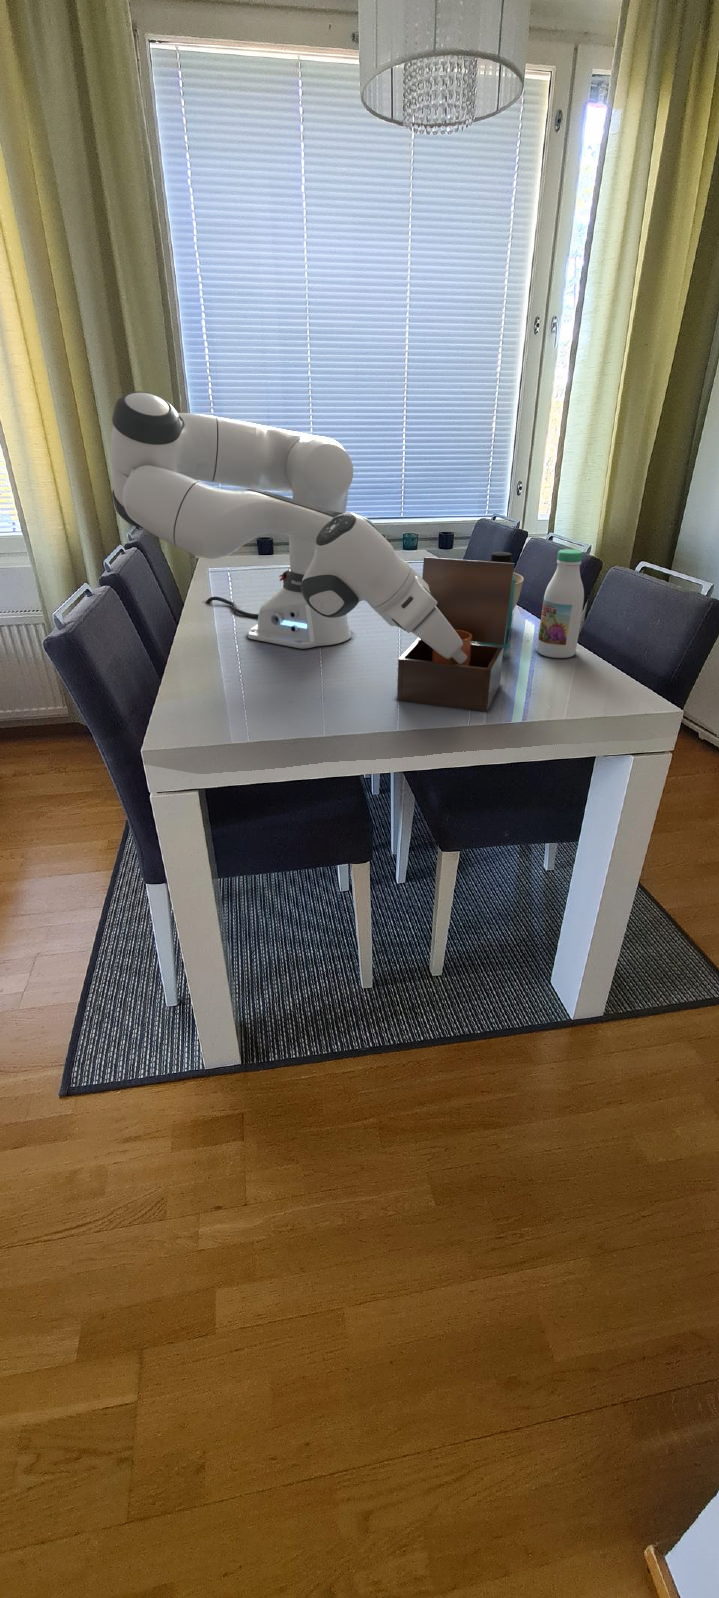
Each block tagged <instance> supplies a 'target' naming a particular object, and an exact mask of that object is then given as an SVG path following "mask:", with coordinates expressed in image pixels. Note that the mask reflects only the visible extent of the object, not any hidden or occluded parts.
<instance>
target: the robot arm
mask: <svg viewBox="0 0 719 1598" xmlns="http://www.w3.org/2000/svg"><path fill="white" fill-rule="evenodd" d="M111 422H112V426H113V427H112V431H111V441H110V462H111V478H112V495H111V496H112V501H113V504H114V508H115V511H116V512H117V514H118V515H119V516H120V517H121V519H123V521H125V522H126V523H128V524H129V525H131V526H133V527H136V528H139V529H144V530H146V531H147V532H148V533H150V534H152V535H153V536H155V537H157V538H159V539H160V540H162V541H164V542H166V543H168V544H170V545H171V546H173V547H176V548H178V549H180V550H182V551H184V552H186V553H188V554H191V555H193V556H195V557H199V558H202V559H207V560H208V559H209V560H217V559H221V558H225V557H227V556H230V555H231V554H233V553H235V552H237V550H239V549H240V548H242V547H243V546H244V545H246V544H248V543H249V542H251V541H253V540H255V539H256V538H259V537H260V536H263V535H266V534H272V533H279V534H284V535H286V536H288V549H289V550H288V551H289V553H288V554H289V568H287V570H286V571H284V572H282V573H281V574H280V575H278V577H279V582H282V584H283V585H282V588H280V589H279V590H278V591H276V592H275V593H274V594H273V595H272V596H271V597H269V598H268V599H267V600H266V601H265V602H264V603H263V604H262V605H261V606H260V608H259V611H258V613H251V612H247V611H244V610H242V609H240V608H237V605H236V603H235V602H234V601H231V600H228V599H226V598H224V597H221V596H211V597H209V598H208V599H207V600H206V601H205V604H210V603H212V602H213V601H217V602H222V603H224V604H226V605H229V606H231V607H232V610H233V611H234V612H235V613H236V614H239V615H241V616H244V617H248V618H253V619H257V624H255V625H254V626H252V627H251V628H249V630H248V631H247V637H248V639H250V640H253V641H254V640H255V641H259V642H260V641H261V642H265V643H270V644H275V645H280V646H286V647H290V648H296V649H301V650H304V649H305V650H306V649H310V648H315V647H323V646H332V645H337V644H341V643H344V642H346V641H348V640H350V639H351V638H352V633H351V632H352V631H351V630H350V625H349V621H348V616H347V614H349V613H350V612H351V611H353V610H354V609H355V608H356V607H357V606H358V605H359V603H360V602H362V601H363V602H366V603H367V604H368V605H369V606H370V607H371V609H372V610H374V611H375V613H377V614H378V615H379V617H381V619H383V620H384V621H385V622H386V623H387V624H388V625H389V626H391V627H397V628H400V629H401V630H403V631H404V632H406V633H408V634H410V633H412V634H413V635H414V636H416V637H417V638H420V639H421V640H422V641H424V642H425V643H426V644H427V645H429V646H430V647H431V648H432V649H434V650H435V651H436V652H438V653H439V654H440V655H442V656H443V657H445V658H447V659H450V658H451V657H452V658H454V659H455V660H456V661H457V662H458V663H459V664H462V663H463V662H464V661H465V660H466V659H467V656H466V655H465V654H464V652H463V651H462V650H461V649H460V648H461V647H462V645H463V642H462V640H461V638H460V637H459V635H458V634H457V632H456V631H455V630H454V628H453V627H452V626H451V624H450V623H449V622H448V621H447V619H446V618H445V617H444V615H443V614H442V613H441V612H440V610H439V609H438V608H437V607H436V605H437V601H436V600H435V598H434V597H433V596H432V595H431V593H430V590H429V586H428V584H427V583H426V582H425V581H424V580H423V579H422V576H421V575H420V574H419V573H418V572H417V570H415V569H414V568H413V567H412V565H410V563H408V562H407V561H405V560H404V559H402V558H401V557H399V555H397V553H396V551H395V550H394V547H393V545H392V544H391V543H390V542H389V541H388V540H387V539H386V537H385V536H383V534H382V533H381V532H380V530H379V528H378V527H377V525H376V524H375V523H374V522H373V521H372V520H370V519H369V518H367V517H365V516H363V515H360V514H357V513H354V512H351V511H348V512H346V510H347V506H348V505H347V504H348V497H349V489H350V487H351V484H352V482H353V478H354V465H353V461H352V459H351V456H350V455H349V454H348V452H347V450H346V449H345V448H344V447H343V446H342V445H341V443H340V442H338V441H336V440H335V439H334V438H330V437H327V436H322V435H321V436H320V435H315V434H310V433H304V432H299V431H293V430H288V429H283V428H279V427H278V428H277V427H273V426H267V425H262V424H258V423H253V422H248V421H247V422H246V421H242V420H236V419H231V418H227V417H226V418H225V417H220V416H215V415H209V414H201V413H190V412H178V411H177V410H176V409H175V407H174V406H172V404H171V403H170V402H169V401H168V400H166V399H165V398H163V397H161V396H159V395H157V394H154V393H152V392H147V391H140V390H139V391H138V390H137V391H130V392H127V393H125V394H123V395H122V396H120V397H119V398H117V400H116V402H115V405H114V408H113V411H112V418H111ZM204 482H206V483H204ZM207 483H214V484H219V485H225V486H231V487H237V488H238V487H239V488H243V489H242V490H241V489H240V490H237V489H236V490H235V489H226V488H220V487H216V486H213V485H210V484H207ZM244 488H245V489H244ZM271 491H272V492H271ZM274 492H282V493H290V494H292V498H291V497H287V496H284V495H281V494H279V493H274Z"/></svg>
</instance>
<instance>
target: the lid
mask: <svg viewBox="0 0 719 1598" xmlns="http://www.w3.org/2000/svg"><path fill="white" fill-rule="evenodd" d="M514 570H515V563H514V562H512V563H503V562H490V561H489V560H487V561H485V560H472V559H458V558H442V557H428V556H424V557H423V564H422V576H421V578H422V579H423V580H424V581H425V582H426V583H427V584H428V586H429V590H430V593H431V595H432V596H433V597H434V598H435V600H436V601H437V605H436V607H437V608H438V609H439V610H440V612H441V613H442V614H443V615H444V617H445V618H446V619H447V621H448V622H449V623H450V624H451V626H452V627H453V628H454V630H462V631H466V632H469V633H471V635H472V642H477V643H478V642H484V643H494V644H504V642H505V635H506V627H507V619H508V611H509V603H510V595H511V587H512V579H513V573H514V572H515V571H514Z"/></svg>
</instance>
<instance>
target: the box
mask: <svg viewBox="0 0 719 1598" xmlns="http://www.w3.org/2000/svg"><path fill="white" fill-rule="evenodd" d="M503 649H504V647H499V646H490V645H481V644H478V643H472V645H471V657H470V666H467V665H459V664H450V663H441V662H432V653H433V649H432V648H431V647H430V646H429V645H427V644H426V643H425V642H424V641H422V640H421V639H420V638H419V637H417V639H416V640H414V642H413V643H412V644H411V645H410V646H409V647H408V648H407V649H406V650H405V651H404V652H403V653H402V654H401V656H400V657H399V658H398V659H397V689H396V690H397V691H396V700H397V701H403V702H404V701H405V702H411V703H412V702H413V703H417V704H418V703H419V704H426V705H435V706H441V707H449V708H457V709H464V710H471V711H472V710H473V711H480V712H488V710H489V708H490V706H491V704H492V702H493V700H494V698H495V695H496V693H497V691H498V689H499V688H500V686H501V675H502V667H503V656H504V652H503Z"/></svg>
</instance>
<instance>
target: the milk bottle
mask: <svg viewBox="0 0 719 1598" xmlns="http://www.w3.org/2000/svg"><path fill="white" fill-rule="evenodd" d="M583 554H584V552H583V551H582V550H578V549H571V548H570V549H569V548H564V549H560V550H558V551H557V556H556V557H557V560H556V563H557V566H556V570H555V572H554V574H553V576H552V578H551V579H550V581H549V583H548V584H547V586H546V588H545V591H544V596H543V601H542V608H541V616H540V624H539V630H538V637H537V644H536V650H537V653H538V654H540V655H542V656H544V657H549V658H555V659H566V658H570V657H571V658H572V657H573V656H575V654H576V651H577V647H578V641H579V634H580V628H581V622H582V614H583V608H584V600H585V589H584V584H583V582H582V578H581V572H580V571H581V570H580V569H581V568H580V566H581V564H582V561H583V557H584V555H583Z"/></svg>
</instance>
